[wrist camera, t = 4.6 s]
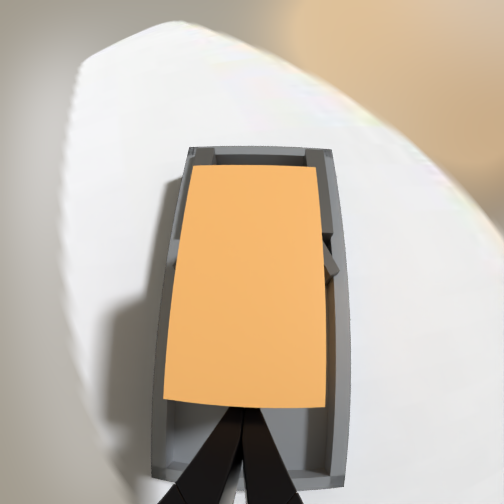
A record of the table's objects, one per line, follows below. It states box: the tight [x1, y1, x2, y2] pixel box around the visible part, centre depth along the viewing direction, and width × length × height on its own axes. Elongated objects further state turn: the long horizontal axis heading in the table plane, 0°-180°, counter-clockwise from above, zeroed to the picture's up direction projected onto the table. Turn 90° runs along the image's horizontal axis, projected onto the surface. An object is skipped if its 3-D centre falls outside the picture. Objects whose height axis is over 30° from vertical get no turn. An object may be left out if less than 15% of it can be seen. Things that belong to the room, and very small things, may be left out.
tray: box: [151, 146, 351, 491], centre depth 16 cm, size 21×10×3 cm, turn 178°
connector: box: [163, 165, 326, 408], centre depth 13 cm, size 10×4×8 cm, turn 178°
